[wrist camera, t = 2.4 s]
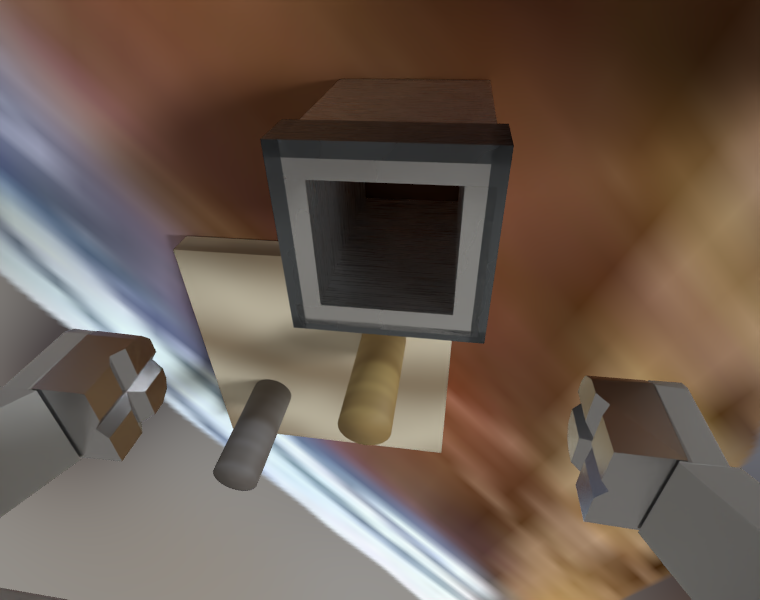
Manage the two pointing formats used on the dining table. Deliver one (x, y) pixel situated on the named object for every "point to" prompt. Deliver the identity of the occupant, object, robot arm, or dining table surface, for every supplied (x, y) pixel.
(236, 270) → the pinboard
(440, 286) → the sleeve
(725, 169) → the dining table surface
